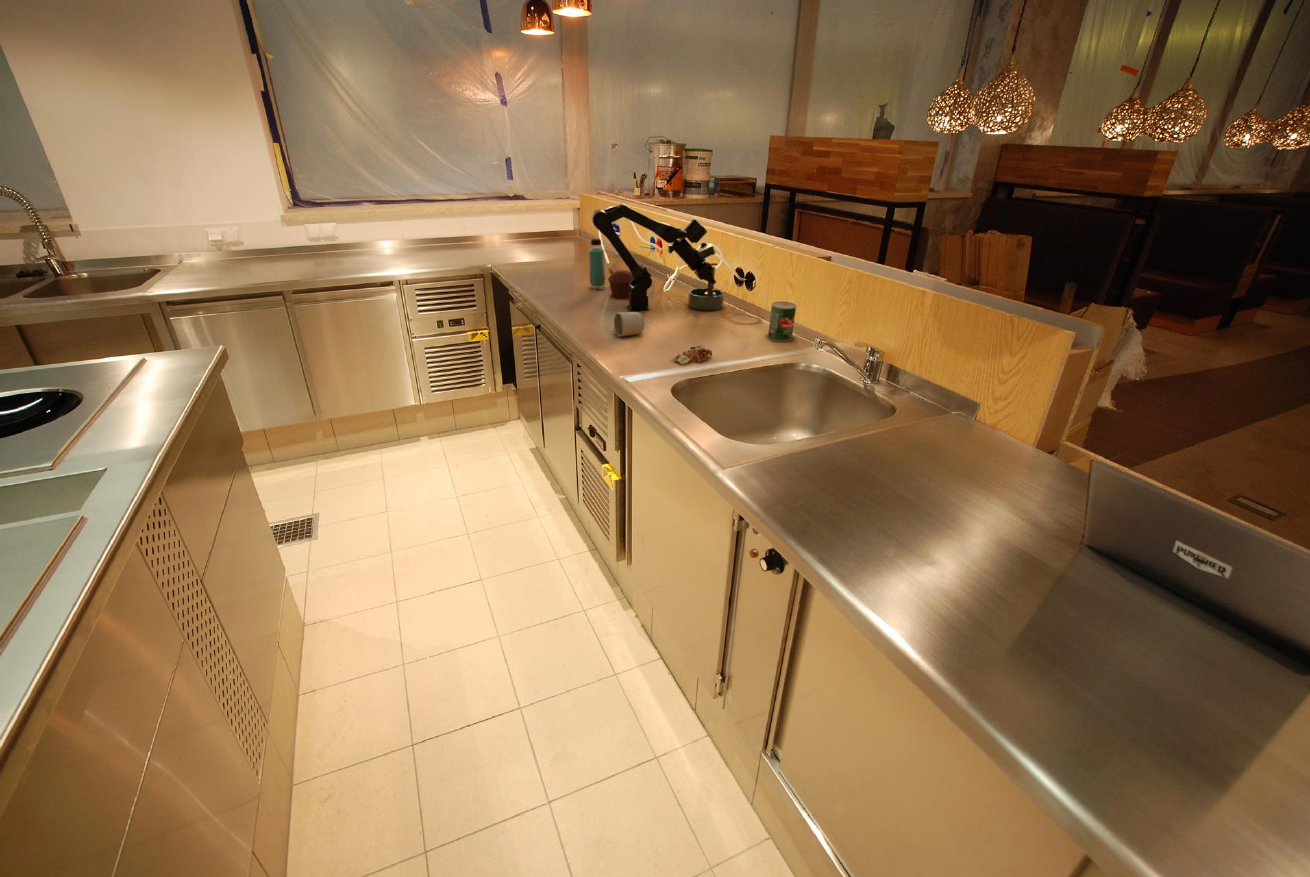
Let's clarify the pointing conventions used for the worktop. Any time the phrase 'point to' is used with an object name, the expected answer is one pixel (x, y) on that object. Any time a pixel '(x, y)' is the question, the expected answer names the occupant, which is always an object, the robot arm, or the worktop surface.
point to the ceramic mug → (628, 323)
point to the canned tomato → (782, 321)
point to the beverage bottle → (596, 264)
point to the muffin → (620, 283)
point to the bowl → (705, 299)
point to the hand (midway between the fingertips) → (714, 282)
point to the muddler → (711, 286)
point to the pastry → (694, 354)
